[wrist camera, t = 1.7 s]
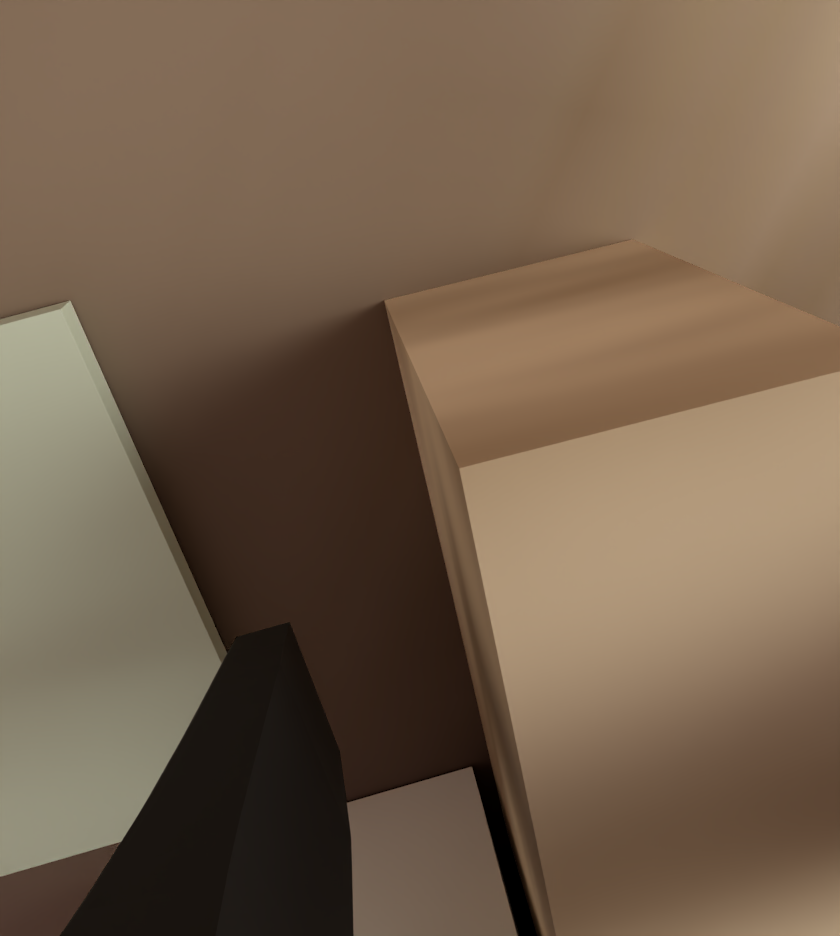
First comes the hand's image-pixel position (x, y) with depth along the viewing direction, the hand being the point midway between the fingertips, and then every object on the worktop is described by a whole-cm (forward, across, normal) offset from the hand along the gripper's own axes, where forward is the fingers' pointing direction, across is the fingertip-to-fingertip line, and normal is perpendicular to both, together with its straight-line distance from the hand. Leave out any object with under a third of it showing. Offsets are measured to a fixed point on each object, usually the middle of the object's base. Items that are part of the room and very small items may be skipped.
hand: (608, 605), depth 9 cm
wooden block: (+3, 0, +2) cm, 3 cm away
